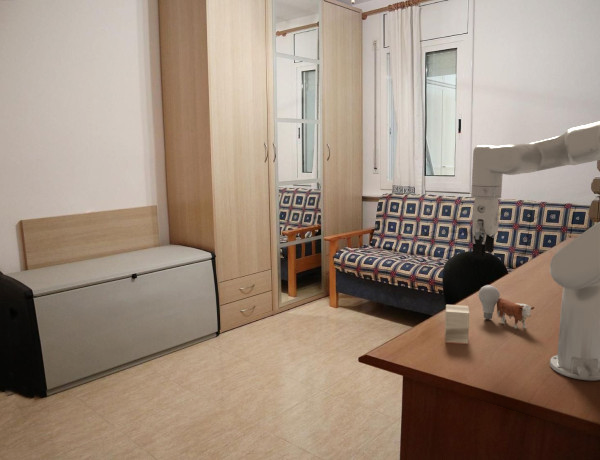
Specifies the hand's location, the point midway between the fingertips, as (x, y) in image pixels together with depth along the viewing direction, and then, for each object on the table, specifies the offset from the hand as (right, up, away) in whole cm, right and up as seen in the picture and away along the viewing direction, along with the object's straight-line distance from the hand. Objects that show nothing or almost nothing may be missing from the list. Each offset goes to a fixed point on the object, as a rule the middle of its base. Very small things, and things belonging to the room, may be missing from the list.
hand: (483, 254), depth 138 cm
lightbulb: (+8, -21, +19) cm, 30 cm away
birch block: (-6, -24, +5) cm, 25 cm away
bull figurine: (+14, -22, +14) cm, 30 cm away
